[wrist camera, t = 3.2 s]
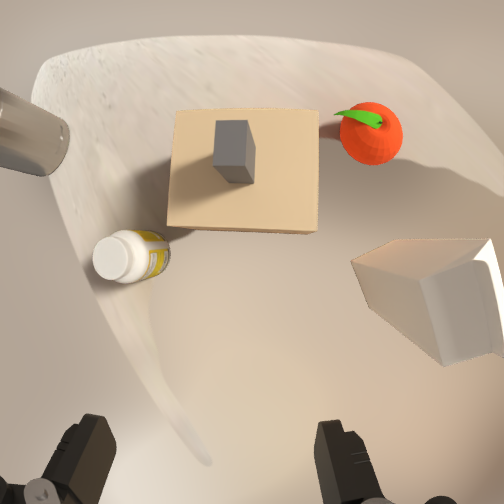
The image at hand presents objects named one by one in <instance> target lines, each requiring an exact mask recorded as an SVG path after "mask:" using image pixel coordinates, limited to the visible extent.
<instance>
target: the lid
mask: <svg viewBox="0 0 504 504" xmlns="http://www.w3.org/2000/svg"><path fill="white" fill-rule="evenodd" d="M318 181H319V120H318V110H303V109H278V108H227V109H201V110H185V111H176V119H175V127H174V137H173V146H172V157H171V168H170V181H169V195H168V211H167V226H190V227H222V228H250V229H275V230H297V231H317V222H318V221H317V220H318Z"/></svg>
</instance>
